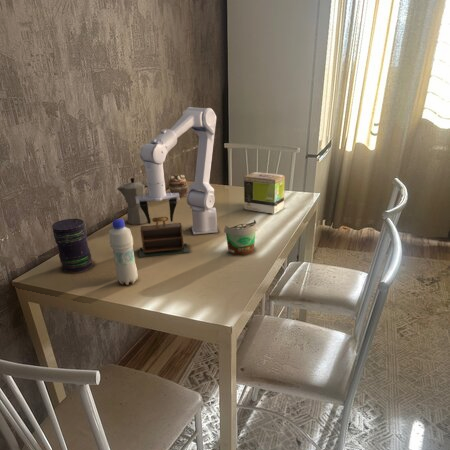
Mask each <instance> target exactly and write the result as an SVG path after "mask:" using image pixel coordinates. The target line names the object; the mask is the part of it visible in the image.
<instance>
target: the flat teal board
mask: <svg viewBox="0 0 450 450" xmlns="http://www.w3.org/2000/svg"><path fill="white" fill-rule="evenodd" d="M183 245H184V249H178V250H168V251H158V252H148V253H144V251H143V247H139V249H138V250H139V255H138V256H139V258H148V257H159V256H165V255H166V256H168V255H176V254H177V255H178V254H188V253H190V251H189V246H188V244H187V243H184V242H183Z"/></svg>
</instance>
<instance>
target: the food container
mask: <svg viewBox="0 0 450 450" xmlns="http://www.w3.org/2000/svg"><path fill="white" fill-rule="evenodd" d="M258 228H259V227H258V223H257V220H255V219H253V221H251V222H249V223H239V224H237V225H234V226H230V227H229V226H227V225H225V226H224V229H223V232H224V233H225V235H226V245H227V251H228V253H229V254H230V255H232V256H233V255H234V256H248V255H250V254H253V252H254V250H255V243H256V241H255V240H256V233H257V232H258Z"/></svg>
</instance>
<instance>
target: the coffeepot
mask: <svg viewBox="0 0 450 450" xmlns="http://www.w3.org/2000/svg"><path fill="white" fill-rule="evenodd" d="M146 188H148V185H147V181H146V182H145V181H144V182H137V181H136V182H135V177H130V182H128V183H125V184H122V185H121V186H119V187H117V188H116V189H117V191H119V192H120V193H121V194H122V196H123V197H124V200H125V203H126V204H127V216H126V218H127V223H128V224H129V225H143V224H146V223H148V220H147V218H146V215H145V213H144V212H143V210H142V209H141V207H140V203H138V204H136V196H142V195H146V191H145V189H146Z"/></svg>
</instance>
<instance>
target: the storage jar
mask: <svg viewBox="0 0 450 450" xmlns="http://www.w3.org/2000/svg"><path fill="white" fill-rule="evenodd" d="M51 229H52V233H53V238H54V242H55V244H56V245H57V250H58V257H59V261H60V264H61V266H62V270H63V272H65V273H67V274H77V273H82V272H85V271H87V270H89V269H91V268H92V267H93V265H94V264H93V263H94V262H93V259H92V253H91V249H90V247H89V244H88V234H87V229H86V227H85V222H84V220H83V219H80V218H66V219H62V220H57V221H55V222H54V223H52V224H51Z"/></svg>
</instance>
